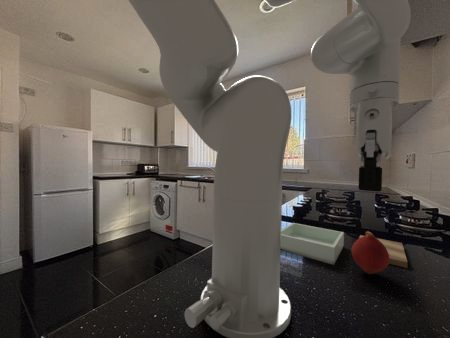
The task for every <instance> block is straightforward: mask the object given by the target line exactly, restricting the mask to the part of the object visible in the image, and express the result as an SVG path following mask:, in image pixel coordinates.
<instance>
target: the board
mask: <svg viewBox="0 0 450 338" xmlns="http://www.w3.org/2000/svg"><path fill="white" fill-rule="evenodd" d="M363 236H364V235H362V234H360V235H359V237H358V239H359V238H361V237H363ZM376 238H377V237H376ZM377 239H378V240H379V241H380V242H381V243H382V244H383V245H384V246H385V248H386V249H387V251H388V254H389V259H390V260H389V265H393V266H397V267H402V268H406V269H408V259H407V256H406V252H405V248H404V245H403V243H402V242H398V241H393V240H387V239H383V238H377Z"/></svg>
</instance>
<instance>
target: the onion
mask: <svg viewBox="0 0 450 338" xmlns="http://www.w3.org/2000/svg"><path fill="white" fill-rule="evenodd" d="M364 234H365V235H362V236H363V237H361V238H359V237H358V239H356V240H355V241H354V242H353V244H352V246H351V249H350V250H351V256H352V259H353V261H354V262H355V263H356V265H358V266H359V268H361V269H362V270H363V271H364V272H365V273H366V274H368V275H373V274H378V273H381V272H383V271H384V270H386V269H387V267H388V266H389V265H390V264H389V260H390V259H389V254H388V251H387V249H386V248H385V246H384V245H383V244H382V243H381V242H380V241H379V240H378V239H379V238H378V239H377V237H375V235H374V234H373V233H372V232H370V231H365V233H364Z"/></svg>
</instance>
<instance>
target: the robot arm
mask: <svg viewBox="0 0 450 338" xmlns="http://www.w3.org/2000/svg"><path fill="white" fill-rule="evenodd" d="M296 1H297V0H264V2H266V4H267V5H268V6H269V7H271V8H281V7H283V6H286V5H289V4H290V3H293V2H296ZM352 1H353V2H354V3H355V4H357V6H358V7H357V8H356V9H354V10H353V11H352V12H350V13H348V14H347V15H346V16H345V17H344V18H342V19H341V20H339V21H337V23H336V24H335V25H334V26H332V27H331V28H329V29H328V30H327V31H325V32H324V33H322V34H321V36H320V37H318V38H317V39H316V41H314V43H313V45H312V48H311V51H310V60H311V63H312V64H313V66H314V68H316V69H317V70H318V71H320V72H322V73H325V74H331V75H333V74H334V75H341V74H342V75H349V76H350V89H349V92H350V96H349V111H350V112H352V113H356V122H355V123H356V127H355V128H356V132H355V134H356V135H355V136H356V137H355V138H356V152H357V156H358V157H359V158H360V167H358V190H359V191H364V192H365V191H366V192H382V190H383V189H382V187H383V167H381V160H382V159H381V158H382V157H385V160H388V159H389V158H390V157H392V140H393V139H392V136H393V135H392V134H393V113H392V109H393V108H395V107H397V106H398V105H399V104H400V74H401V73H400V72H401V70H400V68H401V41H402V40H401V38H402V37H403V36H404V35H405V34H406V32H407V30H408V29H409V26H410V25H411V14H412V12H411V6H410V3H409V0H352ZM128 2H129V3H130V5H131V6H132V8H133V9H134V11H135V12H136V14H137V15H138V17H139V18H140V20H141V22H142V23H143V24H144V25H145V27H146V28H147V30H148V31H149V33H150V34H151V36H152V38H153V39H154V41H155V43H156V45H157V46H158V49H159V53H160V58H159V70H158V71H159V76H160V80H161V85H162V86H163V88H164V91H165V92H166V95H167V96H168V98H169V99H170V101H171V102H172V103H173V105H174V106H175V107H176V108H177V110H178V111H179V112H180V114H181V115H182V116H183V119H185V120H186V122H187V123H188V124H189V125H190V127H191V128H192V129H193V131H194V132H195V134H197V136H198V137H199V138H200V139H201V140H202V142H203V143H204V144H205V145H206V146H207V147H208V148H210V149H211V150H212V151H214V152H217V154H216V159H215V166H214V175H213V212H212V213H213V214H212V215H213V217H212V250H211V251H212V252H211V253H212V260H211V278H210V279H208V280H207V281H206V282H207V283H206V286H205V287H204V288H203V290H202V292H201V295H200V300H197V301H196V302H194V303H193V304H191V305H190V306H189V307H188V308H186V309H185V311H184V319H185V322H186V325H187V326H189V327H190V328H193V329H194V328H195V327H196V326H198V325H199V324H200V323H201V322H203V321H204V322H205V323H206V324H207V325H208V326H209V327H210V329H211V328H212V330H214V331H215V332H217V333H218V334H220V335H222V336H223V337H226V338H276V337H277V336H278V335H280V334H282V333H283V332H284V331H285V330H286V329H287V327H288V326H289V325H290V321H291V318H292V317H291V316H292V306H291V304H292V303H291V300H290V299H289V296H288V295H287V294H286V292H285V291H284V290H283V289H282V288H281V287H280V286H281V285H280V283H281V282H280V280H281V279H280V278H281V277H280V276H281V250H280V246H281V230H282V204H283V203H282V201H283V198H282V196H283V195H282V190H283V172H284V171H283V170H284V160H285V155H286V154H285V153H286V148H287V144H288V139H289V135H290V131H291V124H292V105H291V101H290V97H289V95H288V94H287V91H286V90H285V89H284V87H283V86H282V85H281V84H280V83H279V82H278V81H276V80H274V79H273V78H271V77H269V76H265V75H264V76H263V75H250V76H247V77H245V78H242V79H239V80H238V81H236V82H234V83H233V84H232V85H230V87H228V88H227V89H225V86H224V84H222V82H223V81H224V80H225V78H227V76H228V75H229V73H230V72H231V70H233V68H234V66H235V64H236V61H237V59H238V55H239V44H238V40H237V36H236V35H235V32H234V31H233V28H232V26H231V25H230V23H229V21H228V20H227V18H226V16H225V15H224V13H223V12H222V10H221V9H220V7H219V5H218V4H217V2H216V1H215V0H128Z"/></svg>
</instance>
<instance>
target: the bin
mask: <svg viewBox="0 0 450 338" xmlns="http://www.w3.org/2000/svg"><path fill="white" fill-rule="evenodd" d="M344 239H345V232H344V231H338V230H333V229H329V228H328V229H327V228H323V227H316V226H311V225H307V224H301V223H295V222H292V223H290V224H289V225H287V226H286V227H284V228H281V246H280V249H282V250H281V251H283V250H284V252H287V253H290V254H295V255H298V256H302V257H306V258H307V259H308V258H309V259H311V260H312V259H313V260H315V261H319V262H321V263H322V262H323V263H326V264H329V265H332V266H334V265H335V264H336V262H337V260H338V258H339V256H340V254H341V252H342V250H343V248H344V246H345V245H344V243H345V241H344Z"/></svg>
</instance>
